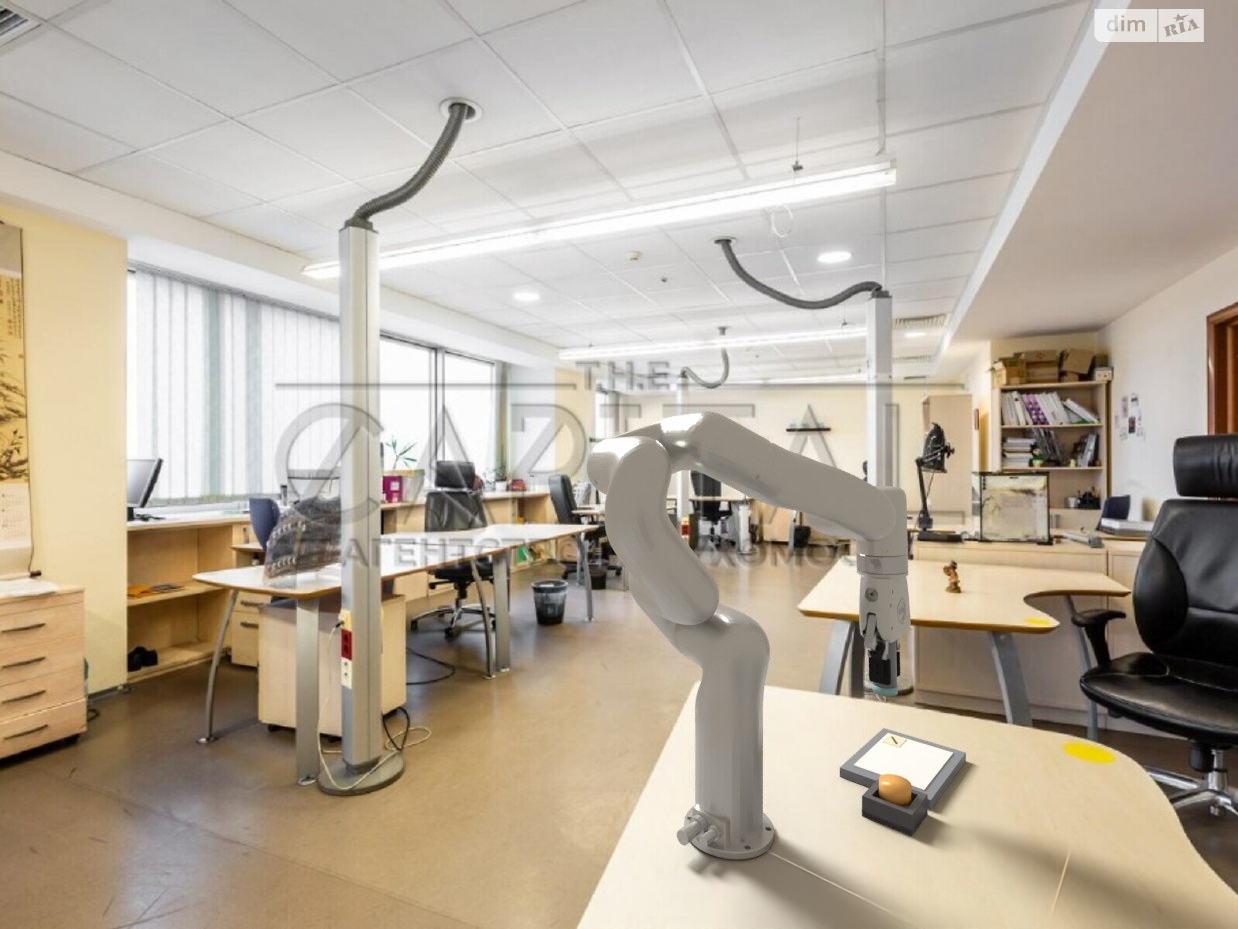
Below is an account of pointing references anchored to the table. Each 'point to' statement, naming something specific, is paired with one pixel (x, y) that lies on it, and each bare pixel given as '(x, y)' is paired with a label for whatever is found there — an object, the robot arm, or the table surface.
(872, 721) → the table surface
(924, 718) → the table surface
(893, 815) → the button housing
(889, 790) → the button
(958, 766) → the drawing board
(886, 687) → the marker
